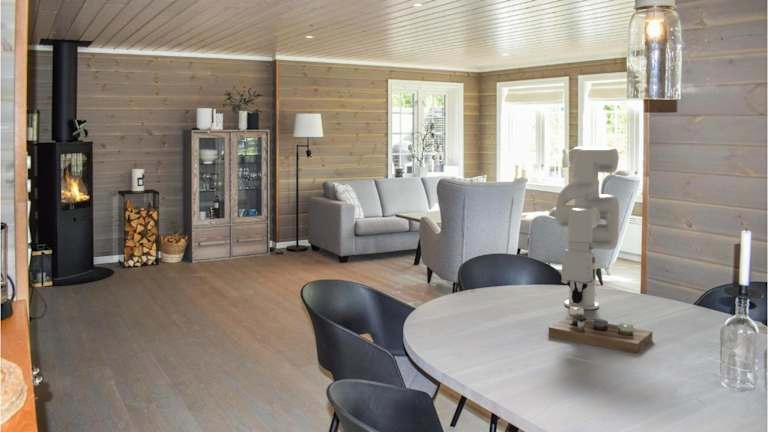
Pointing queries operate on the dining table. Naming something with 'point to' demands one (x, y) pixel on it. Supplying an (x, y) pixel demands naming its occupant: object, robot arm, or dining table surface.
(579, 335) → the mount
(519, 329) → the dining table surface
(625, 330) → the knob sage
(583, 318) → the dial post
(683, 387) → the dining table surface
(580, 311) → the knob cream
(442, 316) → the dining table surface
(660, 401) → the dining table surface
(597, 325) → the knob charcoal
